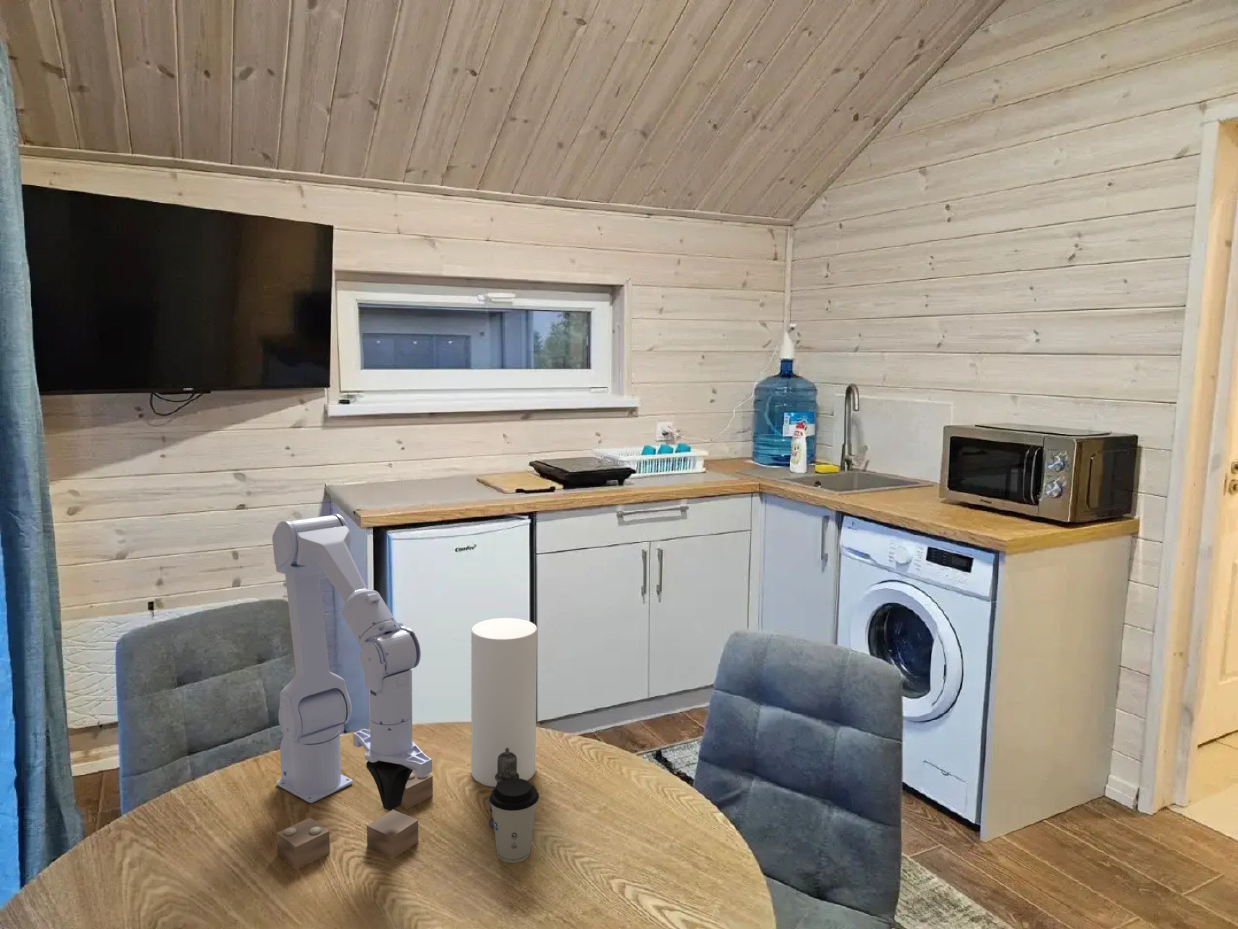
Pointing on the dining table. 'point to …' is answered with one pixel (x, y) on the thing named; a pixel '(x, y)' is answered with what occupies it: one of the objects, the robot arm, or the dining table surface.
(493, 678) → the tall pillar cylinder
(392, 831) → the plain block
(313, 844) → the two-dot block
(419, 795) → the three-dot block
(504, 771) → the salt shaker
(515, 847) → the coffee cup
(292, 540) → the robot arm
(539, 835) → the dining table surface
